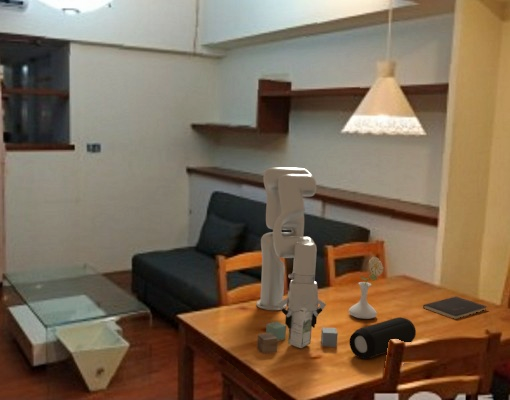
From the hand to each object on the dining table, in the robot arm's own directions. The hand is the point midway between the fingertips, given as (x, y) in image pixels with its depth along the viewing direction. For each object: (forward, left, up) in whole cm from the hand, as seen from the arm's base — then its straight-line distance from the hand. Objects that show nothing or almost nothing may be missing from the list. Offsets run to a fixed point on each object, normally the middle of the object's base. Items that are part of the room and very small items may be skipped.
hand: (300, 326), depth 184 cm
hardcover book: (-34, +78, -8) cm, 86 cm away
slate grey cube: (-2, +11, -7) cm, 13 cm away
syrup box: (0, 0, -7) cm, 7 cm away
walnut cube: (+2, -12, -7) cm, 14 cm away
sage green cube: (-8, -7, -7) cm, 13 cm away
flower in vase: (-28, +34, -7) cm, 44 cm away
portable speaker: (+5, +28, -8) cm, 30 cm away
